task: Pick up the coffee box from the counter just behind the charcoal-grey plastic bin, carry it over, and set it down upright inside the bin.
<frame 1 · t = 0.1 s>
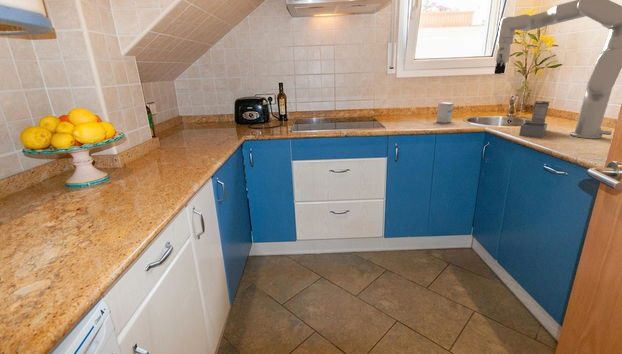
hand: (499, 73, 179), 31 cm above the worktop, tool pointing down, fingers open, 9 cm apart
supplement box: (443, 122, 211), on the worktop
bin: (532, 134, 169), on the worktop
coffee box: (535, 130, 178), on the worktop
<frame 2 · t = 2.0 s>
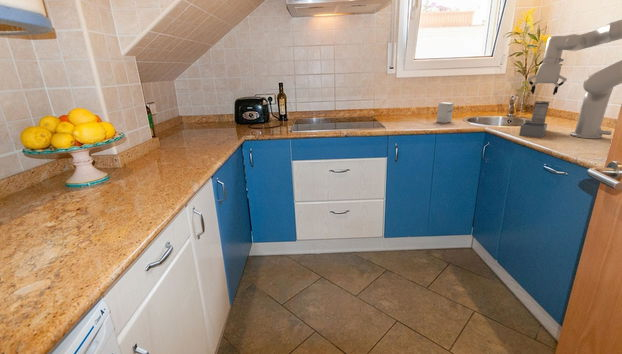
hand: (543, 94, 172), 20 cm above the worktop, tool pointing down, fingers open, 9 cm apart
nothing on the worktop moved.
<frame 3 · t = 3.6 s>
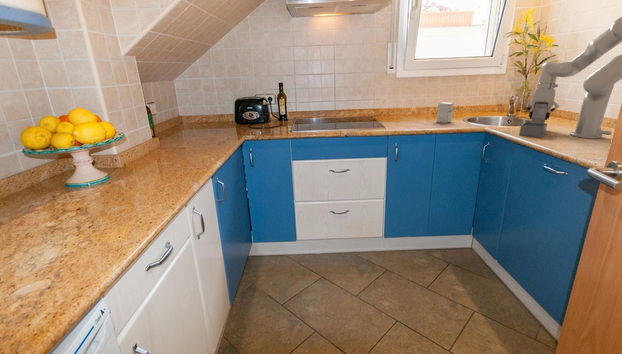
hand: (538, 118, 176), 7 cm above the worktop, tool pointing down, fingers closed on coffee box, 6 cm apart
coffee box: (535, 130, 178), on the worktop, touching gripper
everything else where it was.
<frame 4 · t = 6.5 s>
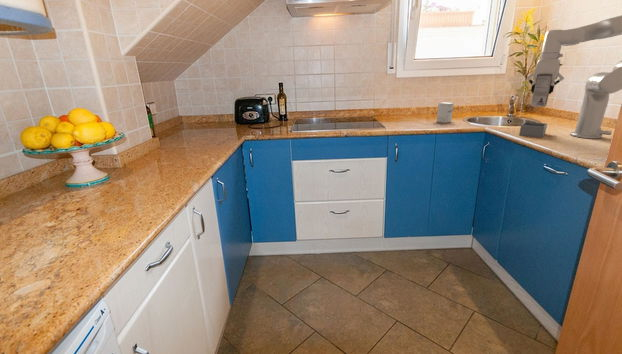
hand: (541, 93, 162), 22 cm above the worktop, tool pointing down, fingers closed on coffee box, 6 cm apart
coffee box: (538, 106, 165), point 15 cm above the worktop, touching gripper
everything else where it was.
when the fingers open (9 cm above the worktop, at t = 9.6 s): coffee box drops 1 cm, resting on bin.
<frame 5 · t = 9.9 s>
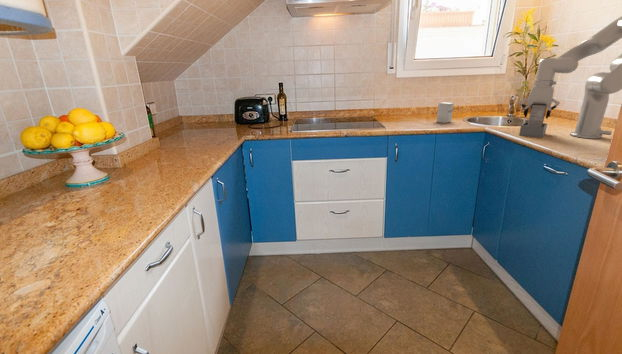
hand: (535, 117, 165), 9 cm above the worktop, tool pointing down, fingers open, 9 cm apart
coffee box: (533, 133, 168), resting on bin
everything else where it was.
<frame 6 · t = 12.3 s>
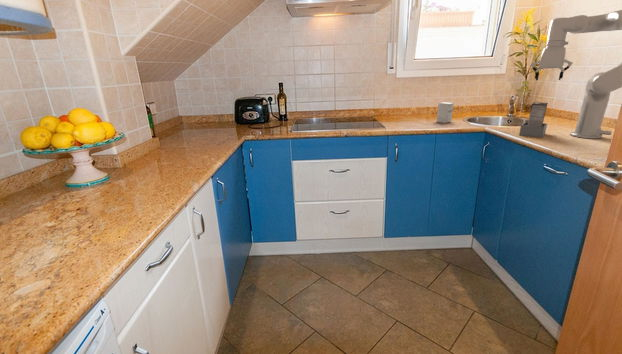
hand: (547, 80, 163), 28 cm above the worktop, tool pointing down, fingers open, 9 cm apart
nothing on the worktop moved.
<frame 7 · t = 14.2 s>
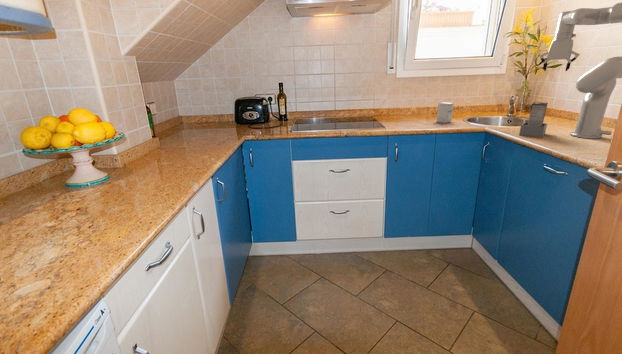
hand: (555, 70, 172), 32 cm above the worktop, tool pointing down, fingers open, 9 cm apart
nothing on the worktop moved.
at the end: coffee box 0.4 cm off-centre on the bin, point 0.4 cm above the bin's base; coffee box tilted 0°; the gripper is holding nothing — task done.
